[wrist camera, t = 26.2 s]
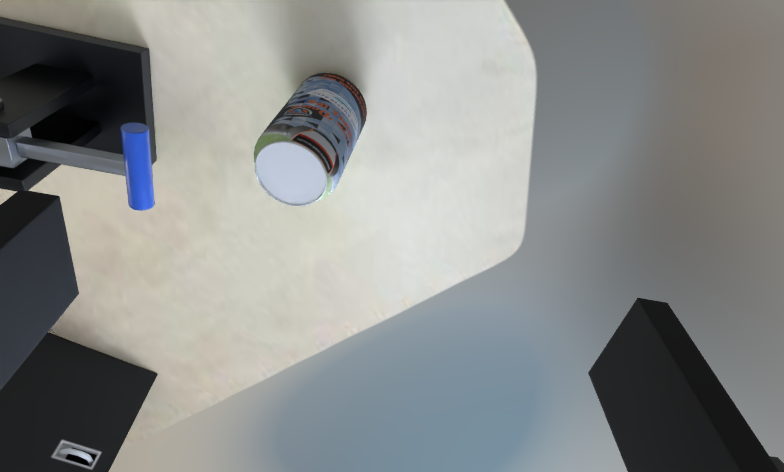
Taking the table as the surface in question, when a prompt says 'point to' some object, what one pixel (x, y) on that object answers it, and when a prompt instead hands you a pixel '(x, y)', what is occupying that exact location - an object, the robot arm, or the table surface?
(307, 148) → the beverage can
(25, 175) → the bracket
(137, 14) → the table surface
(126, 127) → the lever
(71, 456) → the binder
